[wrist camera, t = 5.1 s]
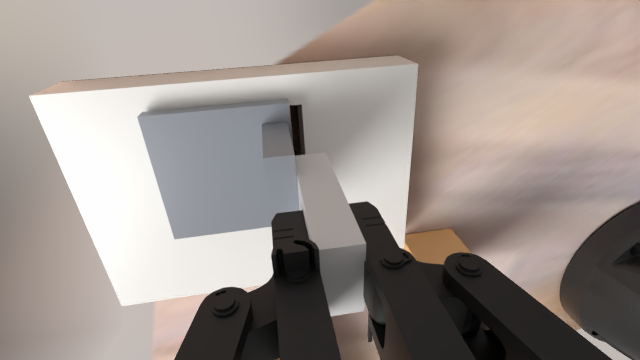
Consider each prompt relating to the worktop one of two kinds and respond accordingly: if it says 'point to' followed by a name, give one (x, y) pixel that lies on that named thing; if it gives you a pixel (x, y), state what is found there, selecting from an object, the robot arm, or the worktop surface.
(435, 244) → the plug
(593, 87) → the worktop surface
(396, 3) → the worktop surface
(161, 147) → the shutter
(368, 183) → the socket board
